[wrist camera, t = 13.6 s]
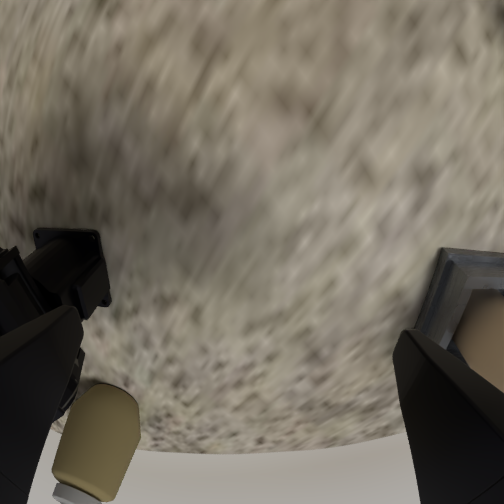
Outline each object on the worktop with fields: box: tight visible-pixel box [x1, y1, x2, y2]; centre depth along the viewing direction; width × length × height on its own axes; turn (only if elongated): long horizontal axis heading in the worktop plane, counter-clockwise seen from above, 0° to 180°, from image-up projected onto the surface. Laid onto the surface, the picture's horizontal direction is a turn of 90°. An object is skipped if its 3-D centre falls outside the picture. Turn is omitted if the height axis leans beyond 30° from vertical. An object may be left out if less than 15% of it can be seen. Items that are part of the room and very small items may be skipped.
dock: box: [414, 248, 504, 367], centre depth 21 cm, size 11×11×4 cm
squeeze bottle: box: [52, 384, 141, 504], centre depth 21 cm, size 8×8×18 cm
